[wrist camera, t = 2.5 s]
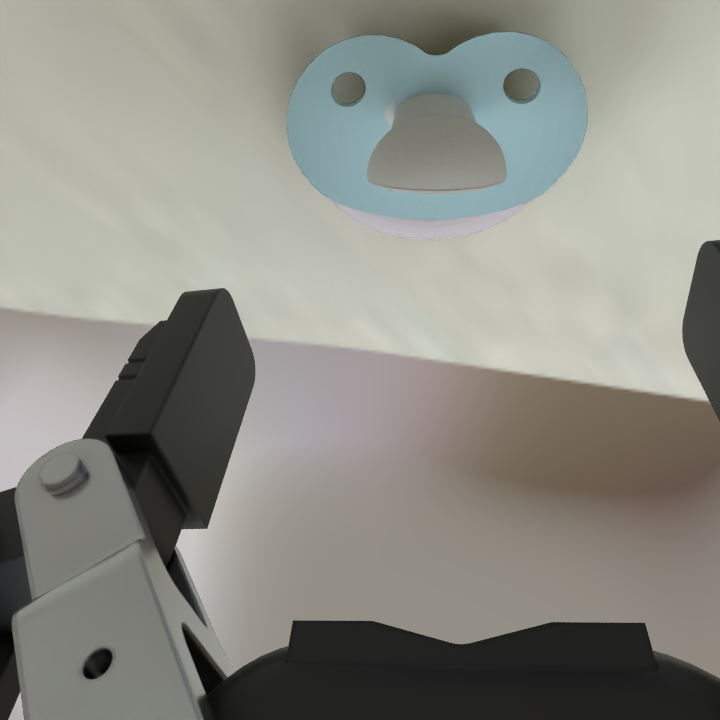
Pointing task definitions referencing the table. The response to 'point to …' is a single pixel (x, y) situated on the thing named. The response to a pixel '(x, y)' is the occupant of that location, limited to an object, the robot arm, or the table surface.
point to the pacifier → (436, 132)
